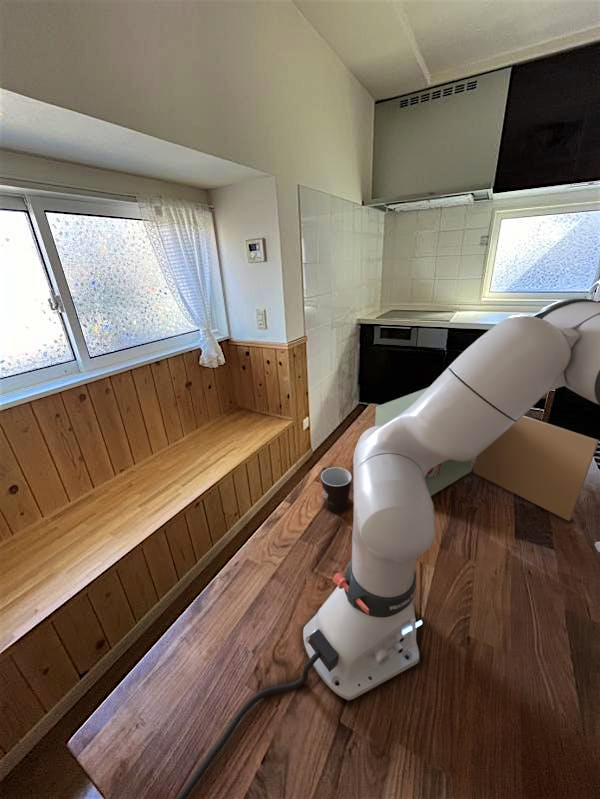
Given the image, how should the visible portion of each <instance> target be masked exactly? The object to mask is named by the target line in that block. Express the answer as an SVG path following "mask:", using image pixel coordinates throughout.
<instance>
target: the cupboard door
mask: <svg viewBox="0 0 600 799" xmlns="http://www.w3.org/2000/svg"><path fill="white" fill-rule="evenodd" d="M599 442H600V439H596V438H593V437H590V436H587V435H584V434H581V433H578V432H575V431H572V430H570V429H566V428H563V427H560V426H558V425H554V424H551V423H548V422H545V421H543V420H542V421H541V420H538V419H536V418H533V417H530V416H526V415H524V416H522V417H521V418H520V419H519V420H518V421H517V422H516V423H515V424H514V425H512V426H511V427H510V428H509V429H508V430H507V431H506V432H504V433H503V434H502V435H501V436H500V437H499V438H498V439H496V440H495V441H494V442H493V443H492V444H491V445H490V446H488V447H487V448H486V449H485V450H484V451H483V452H482V453H480V454H479V455H478V456H477V457H475V459H474V464H473V469H472V470H473V471H472V473H473V474H475V475H477V476H480V477H481V478H483V479H485V480H487V481H489V482H491V483H493V484H495V485H497V486H499V487H501V488H503V489H505V490H507V491H509V492H511V493H512V494H515V495H517V496H518V497H520V498H522V499H524V500H526V501H529V502H530V503H532V504H534V505H536V506H537V507H540V508H542V509H543V510H546V511H548V512H550V513H552V514H554V515H556V516H558V517H560V518H562V519H563V520H566V521H568V522H570V521H571V519H572V517H573V514H574V512H575V508H576V506H577V504H578V500H579V499H580V498H579V497H580V495H581V492H582V489H583V486H584V483H585V481H586V478H587V475H588V473H589V470H590V467H591V464H592V461H593V459H594V456H595V453H596V450H597V449H598V446H599V445H598V444H599Z"/></svg>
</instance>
